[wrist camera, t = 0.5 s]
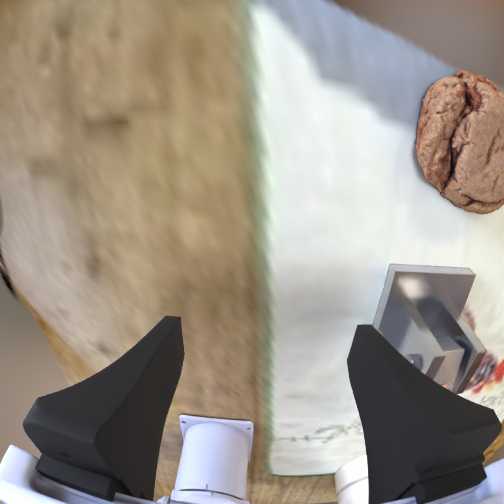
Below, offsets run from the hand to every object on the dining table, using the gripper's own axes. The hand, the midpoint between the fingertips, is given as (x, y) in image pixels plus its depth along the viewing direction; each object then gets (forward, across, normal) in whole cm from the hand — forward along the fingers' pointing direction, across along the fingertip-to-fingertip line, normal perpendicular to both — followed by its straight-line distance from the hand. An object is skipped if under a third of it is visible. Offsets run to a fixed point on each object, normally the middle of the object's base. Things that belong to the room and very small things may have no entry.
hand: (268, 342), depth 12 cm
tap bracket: (+10, -13, +6) cm, 18 cm away
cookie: (+10, -14, -9) cm, 20 cm away
